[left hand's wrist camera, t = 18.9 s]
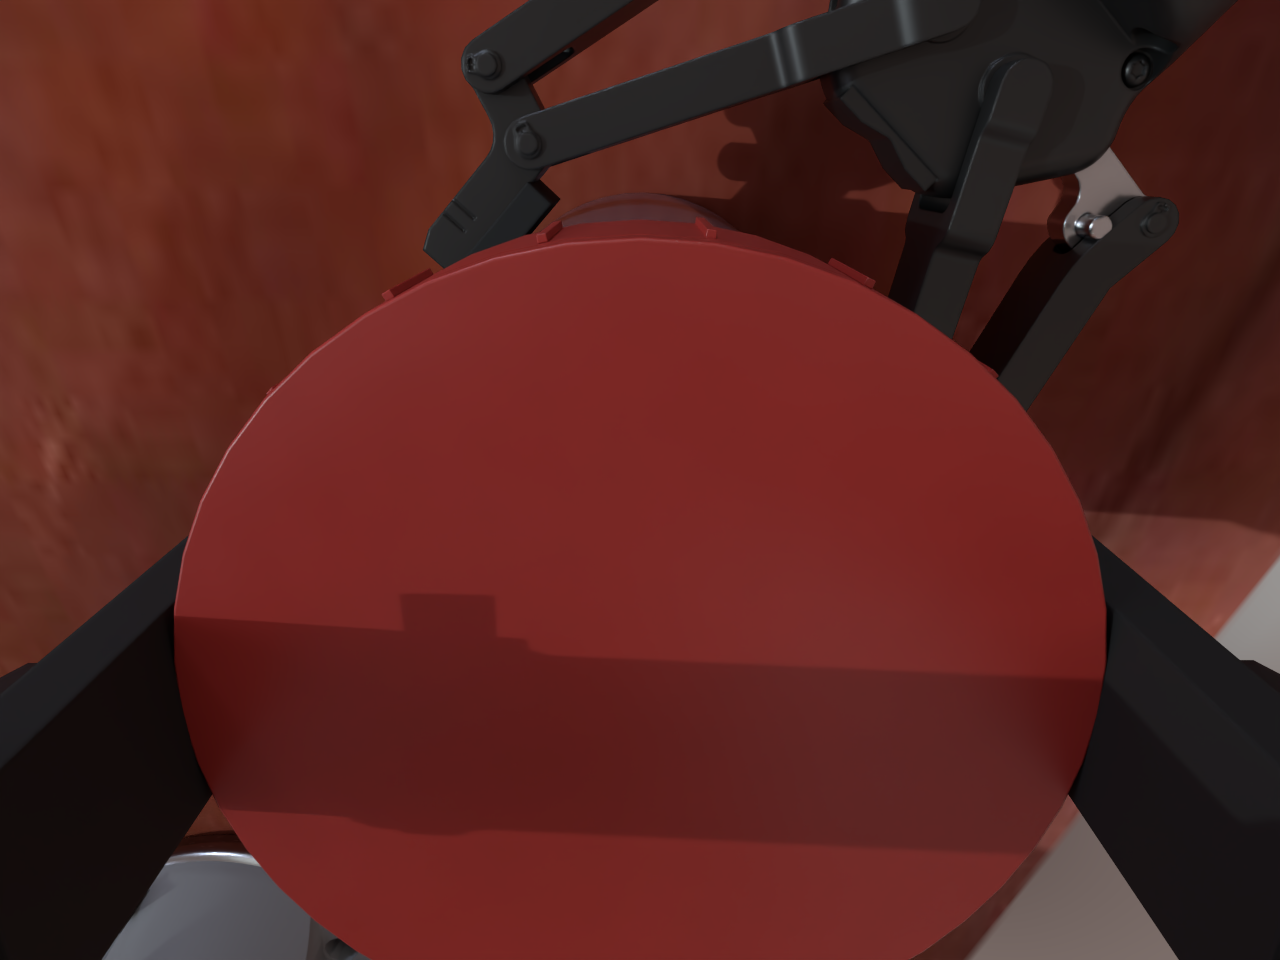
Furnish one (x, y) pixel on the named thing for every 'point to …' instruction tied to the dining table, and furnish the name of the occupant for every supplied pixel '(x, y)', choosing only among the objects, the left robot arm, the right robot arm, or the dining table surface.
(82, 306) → the dining table surface
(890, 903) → the lid
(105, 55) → the dining table surface
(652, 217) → the jar
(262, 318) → the dining table surface
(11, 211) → the dining table surface
